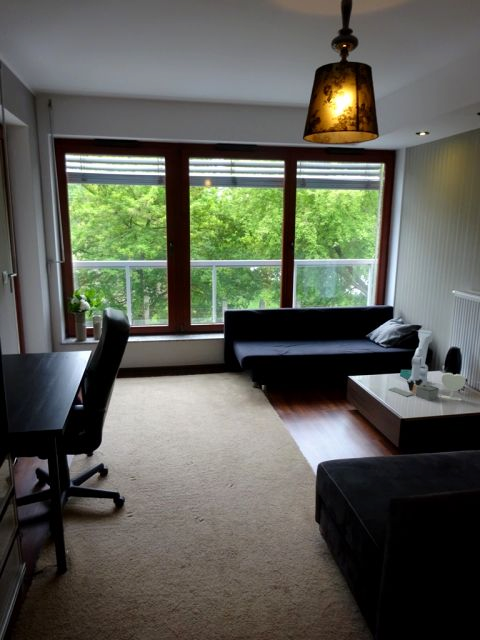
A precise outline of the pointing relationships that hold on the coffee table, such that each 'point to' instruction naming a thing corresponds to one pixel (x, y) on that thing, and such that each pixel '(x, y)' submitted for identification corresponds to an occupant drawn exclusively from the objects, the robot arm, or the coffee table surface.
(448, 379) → the heart sculpture
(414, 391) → the tall tan wooden post
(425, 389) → the dispenser
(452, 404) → the coffee table surface
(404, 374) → the teal l-shaped bracket
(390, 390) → the slate mat
